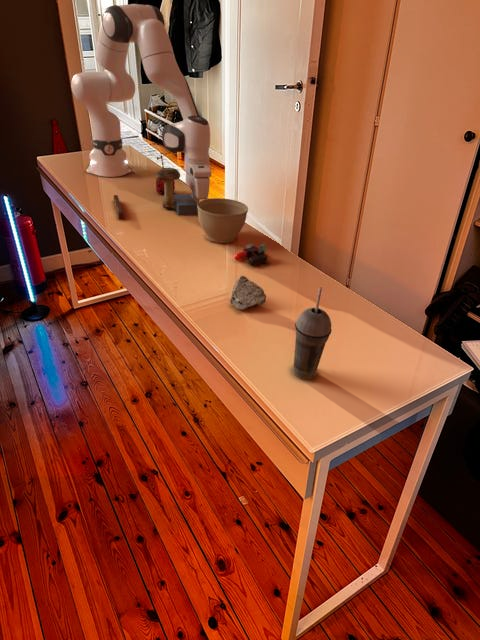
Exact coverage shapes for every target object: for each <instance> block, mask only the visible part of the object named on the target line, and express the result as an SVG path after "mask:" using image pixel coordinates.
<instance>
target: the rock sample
mask: <svg viewBox="0 0 480 640" xmlns="http://www.w3.org/2000/svg"><path fill="white" fill-rule="evenodd" d="M266 300H267V294H266V293H265V291H264V289H263V288H262V286H260V285H258V284H257V283H256V282H254V281H252V280H250V279H249V278H248V277H246V275H240V277H239V278H238V279H237V280H236V281H235V283H234V285H233V288H232V290H231V295H230V298H229V303H230V305H232V307H234V308H235V310H247V309H248V308H250V307H253V306H255V305H264V304H265V303H266Z"/></svg>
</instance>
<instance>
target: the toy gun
mask: <svg viewBox="0 0 480 640" xmlns="http://www.w3.org/2000/svg"><path fill="white" fill-rule="evenodd" d="M265 250H266V243H264V242H263V243H262V244H261V245H259V246H256V245H254V244H253V243H251V242H250V243H247V245H246V247H245V248H243V250H242V251H240V252H238V253H236V254H234V257H233V258H234V260H235V261H237V262H238V261H240V260H243V259H245V258H248V264H249V265H250V266H251V267H254V266H258V265H261V264H267V263H268V257H269V255H267V253H265Z"/></svg>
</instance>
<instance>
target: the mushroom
mask: <svg viewBox="0 0 480 640" xmlns="http://www.w3.org/2000/svg"><path fill="white" fill-rule="evenodd" d="M155 177H157V179H158V180H164V187H165V195H163V199H162V207H163V208H164V209H166V210H170V209H171V208H173V207H174V204H175V198H174V194H175V190H174V191H173V180H174V181H175V180H176V181H177V180H179V179H180V178H181V173H180V171H179V169H177V168H174V167H164V168H162V167H161V169H158V171H157V172H156V174H155Z"/></svg>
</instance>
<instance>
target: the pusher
mask: <svg viewBox="0 0 480 640" xmlns="http://www.w3.org/2000/svg"><path fill="white" fill-rule="evenodd" d="M174 198H175V204H174V206H173V207H174V210H175V212H176V213H177V215H178V216H181V215H186V216H187V215H198V208H197V203H196V202H195V200H194V199H193V197H192V194H191V193H178V194H177V193H174Z"/></svg>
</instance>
